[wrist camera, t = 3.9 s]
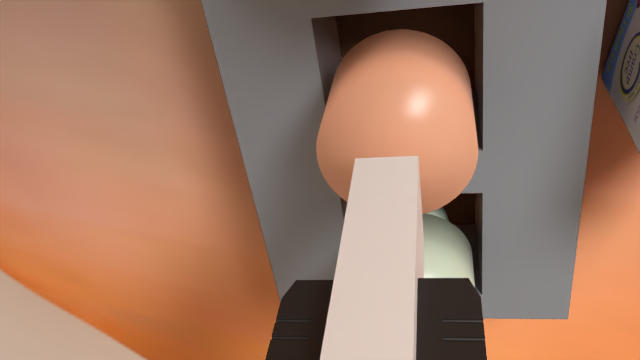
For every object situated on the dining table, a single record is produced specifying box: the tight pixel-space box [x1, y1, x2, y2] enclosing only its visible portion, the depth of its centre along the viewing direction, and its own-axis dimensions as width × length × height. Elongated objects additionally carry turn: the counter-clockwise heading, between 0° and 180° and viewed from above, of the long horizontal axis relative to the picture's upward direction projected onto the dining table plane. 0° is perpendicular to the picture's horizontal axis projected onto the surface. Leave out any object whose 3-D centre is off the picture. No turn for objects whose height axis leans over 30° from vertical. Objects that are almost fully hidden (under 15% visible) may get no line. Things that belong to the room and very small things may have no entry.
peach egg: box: [316, 29, 478, 214], centre depth 19 cm, size 4×4×6 cm
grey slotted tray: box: [201, 0, 607, 319], centre depth 22 cm, size 22×12×4 cm, turn 8°
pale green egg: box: [422, 207, 475, 287], centre depth 23 cm, size 4×4×6 cm
